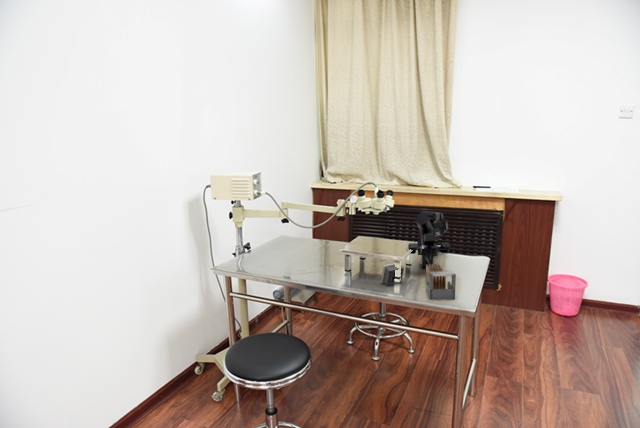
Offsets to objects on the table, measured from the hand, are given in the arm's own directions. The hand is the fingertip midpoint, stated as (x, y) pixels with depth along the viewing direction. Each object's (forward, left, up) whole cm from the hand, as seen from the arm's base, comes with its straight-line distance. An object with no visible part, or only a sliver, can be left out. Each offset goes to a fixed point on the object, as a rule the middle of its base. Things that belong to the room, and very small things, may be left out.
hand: (431, 264), depth 183 cm
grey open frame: (+19, 0, -7) cm, 20 cm away
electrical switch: (+5, -17, -7) cm, 19 cm away
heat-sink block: (+10, 0, -7) cm, 12 cm away
